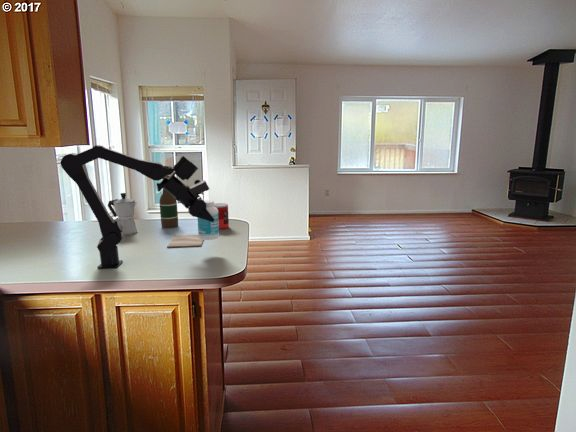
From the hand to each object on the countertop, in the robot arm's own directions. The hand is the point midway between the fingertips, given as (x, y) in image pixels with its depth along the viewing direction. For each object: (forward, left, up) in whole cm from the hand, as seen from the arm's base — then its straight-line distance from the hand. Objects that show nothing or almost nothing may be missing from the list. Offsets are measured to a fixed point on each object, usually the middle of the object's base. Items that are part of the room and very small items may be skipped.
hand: (211, 218), depth 145 cm
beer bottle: (+46, +24, -13) cm, 53 cm away
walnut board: (+18, +12, -13) cm, 25 cm away
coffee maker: (+37, +42, -13) cm, 57 cm away
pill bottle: (0, +1, -7) cm, 7 cm away
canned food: (+39, 0, -13) cm, 41 cm away
